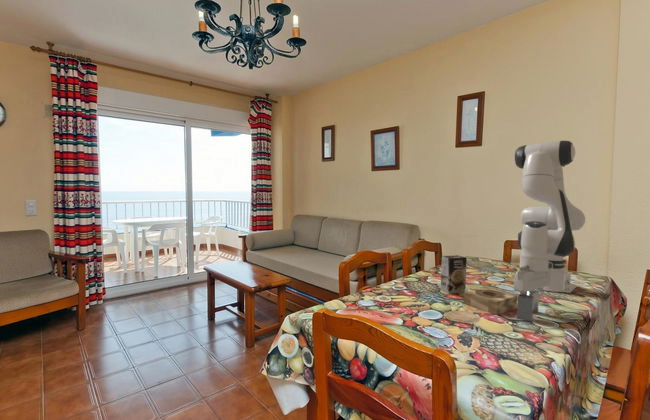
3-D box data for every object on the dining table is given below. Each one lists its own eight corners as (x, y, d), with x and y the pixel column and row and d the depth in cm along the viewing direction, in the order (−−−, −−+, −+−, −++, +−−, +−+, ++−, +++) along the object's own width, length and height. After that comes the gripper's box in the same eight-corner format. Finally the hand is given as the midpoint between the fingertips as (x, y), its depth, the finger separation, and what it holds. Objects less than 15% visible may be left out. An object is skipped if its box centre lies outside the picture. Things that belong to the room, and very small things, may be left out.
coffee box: (448, 294, 145) (449, 258, 144) (440, 289, 151) (441, 255, 150) (466, 292, 148) (467, 257, 147) (456, 288, 154) (457, 254, 153)
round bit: (528, 308, 127) (529, 288, 127) (540, 312, 124) (541, 291, 123) (523, 311, 125) (523, 290, 125) (534, 314, 122) (535, 293, 121)
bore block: (483, 298, 140) (483, 286, 140) (516, 308, 128) (517, 295, 128) (463, 303, 133) (463, 291, 132) (496, 315, 121) (497, 301, 121)
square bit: (518, 314, 121) (519, 293, 121) (532, 317, 118) (533, 296, 118) (516, 318, 118) (517, 296, 117) (531, 321, 115) (532, 299, 114)
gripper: (527, 269, 115) (525, 307, 116) (555, 263, 126) (553, 298, 127) (509, 265, 121) (508, 302, 121) (537, 260, 131) (535, 294, 132)
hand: (531, 300), depth 124 cm, fingers open, 8 cm apart
